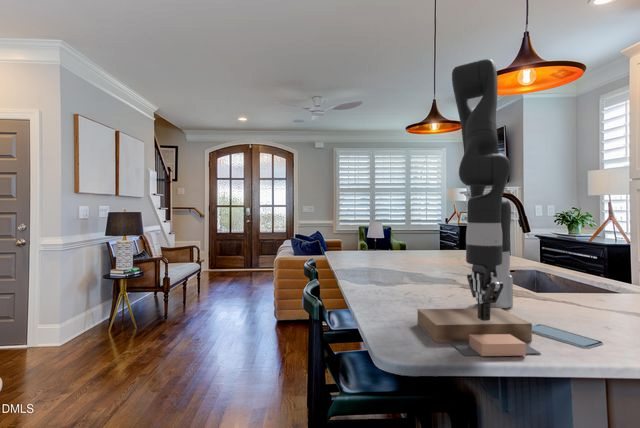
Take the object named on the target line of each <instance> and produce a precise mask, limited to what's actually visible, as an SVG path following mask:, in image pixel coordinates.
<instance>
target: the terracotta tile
mask: <svg viewBox="0 0 640 428" xmlns="http://www.w3.org/2000/svg"><path fill="white" fill-rule="evenodd" d="M526 345H527V344H526V342H525V341H521V340H519V339H517V338H516V337H514V336H512V335H510V334H482V335H469V346H470V347H471V348H473V349H474V350H475V351H476V352H478V353H479V354H480V355H481V357H504V356H505V357H507V356H509V357H511V356H512V357H513V356H520V357H521V356H527V355H526Z"/></svg>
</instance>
